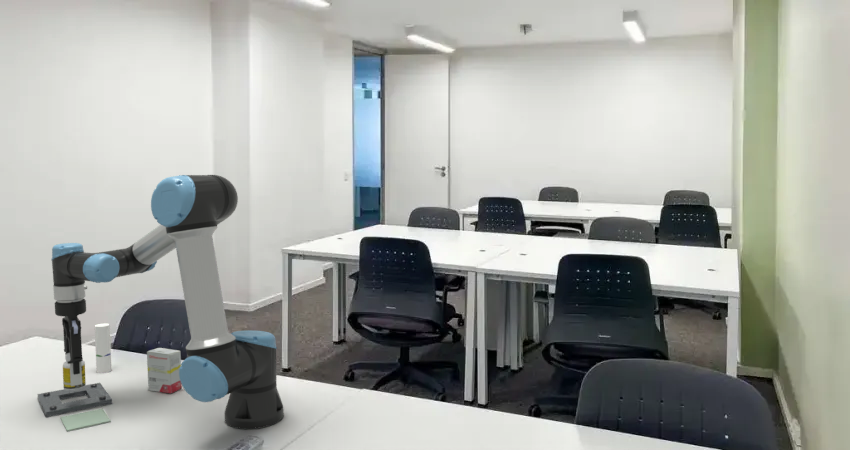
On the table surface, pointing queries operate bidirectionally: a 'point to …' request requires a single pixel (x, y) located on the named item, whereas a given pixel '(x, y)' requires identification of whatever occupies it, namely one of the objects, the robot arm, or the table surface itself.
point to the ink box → (164, 370)
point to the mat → (85, 419)
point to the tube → (103, 348)
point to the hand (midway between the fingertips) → (74, 381)
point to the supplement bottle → (67, 375)
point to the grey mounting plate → (55, 407)
